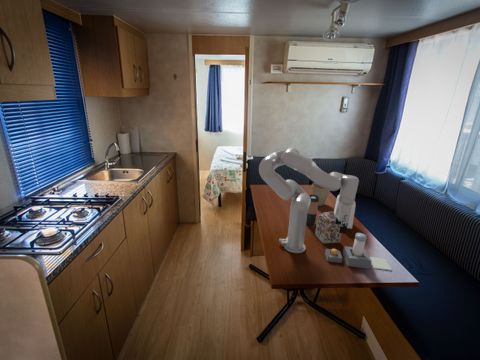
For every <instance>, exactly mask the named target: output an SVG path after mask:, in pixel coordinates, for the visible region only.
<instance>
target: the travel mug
mask: <svg viewBox="0 0 480 360" xmlns="http://www.w3.org/2000/svg"><path fill="white" fill-rule="evenodd" d="M308 195H309V196H310V198H311V203H310V206H309V208H308V213H307V222H306V226H315V224H316V221H317V215H318V208H319V206H318V202H319V197H318V196H316V195H313V194H308Z"/></svg>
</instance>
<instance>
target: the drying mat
mask: <svg viewBox="0 0 480 360" xmlns="http://www.w3.org/2000/svg"><path fill="white" fill-rule="evenodd" d="M369 257H370V259H371V266H372V268H373V269H376V270H383V271H390V272H392V271H393V269H392V267H391V266H390V264H389V263H388V261H387V259H386V258H383V257H376V256H375V257H373V256H369Z"/></svg>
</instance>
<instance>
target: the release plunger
mask: <svg viewBox="0 0 480 360" xmlns="http://www.w3.org/2000/svg"><path fill="white" fill-rule="evenodd" d="M331 249H332V251H331V255H336V256H337V250H338V249H336V248H331Z"/></svg>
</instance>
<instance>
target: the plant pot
mask: <svg viewBox="0 0 480 360" xmlns="http://www.w3.org/2000/svg"><path fill="white" fill-rule="evenodd" d="M311 191H312V194H311V195H316V196H318V197H319V202H318V207H319V206H321V207H322V206H324V204H325V203H326V201H327V199H328V197H329V195H330V192H331V191H330V190H327V189H325V188H323V187H321V186H319V185H318V184H316V183H312V184H311Z"/></svg>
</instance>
